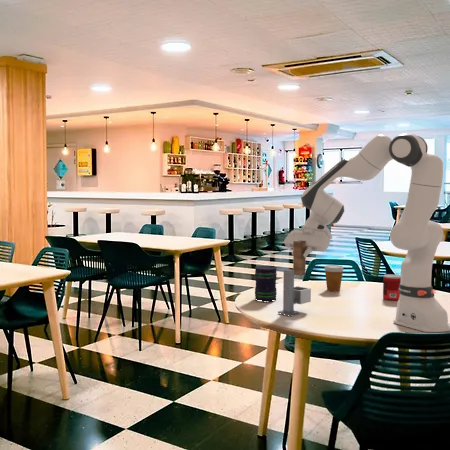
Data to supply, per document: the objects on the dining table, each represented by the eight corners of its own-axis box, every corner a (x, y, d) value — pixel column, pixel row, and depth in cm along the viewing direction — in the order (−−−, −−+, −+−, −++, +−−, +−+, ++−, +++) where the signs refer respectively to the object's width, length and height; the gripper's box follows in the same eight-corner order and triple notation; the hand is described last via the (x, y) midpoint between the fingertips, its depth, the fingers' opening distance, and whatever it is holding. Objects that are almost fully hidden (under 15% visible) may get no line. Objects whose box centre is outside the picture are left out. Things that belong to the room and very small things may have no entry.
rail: (298, 273, 217) (298, 240, 216) (305, 274, 215) (305, 240, 214) (293, 274, 215) (293, 240, 214) (300, 275, 212) (300, 241, 211)
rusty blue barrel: (258, 302, 231) (258, 269, 230) (252, 298, 241) (252, 266, 239) (279, 301, 233) (279, 268, 232) (272, 297, 243) (272, 265, 242)
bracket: (296, 308, 221) (297, 266, 220) (310, 311, 216) (311, 268, 215) (277, 313, 211) (277, 270, 210) (290, 316, 206) (291, 272, 205)
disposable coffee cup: (345, 289, 260) (346, 265, 259) (339, 292, 252) (340, 268, 251) (327, 287, 265) (328, 264, 264) (321, 290, 257) (321, 266, 256)
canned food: (404, 299, 237) (405, 276, 236) (392, 301, 233) (393, 277, 232) (391, 296, 244) (391, 273, 243) (379, 298, 240) (379, 275, 239)
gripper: (289, 224, 225) (275, 248, 219) (330, 227, 211) (315, 253, 205) (295, 233, 229) (282, 258, 223) (335, 237, 215) (322, 263, 209)
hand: (298, 255), depth 214 cm, fingers closed on rail, 4 cm apart
